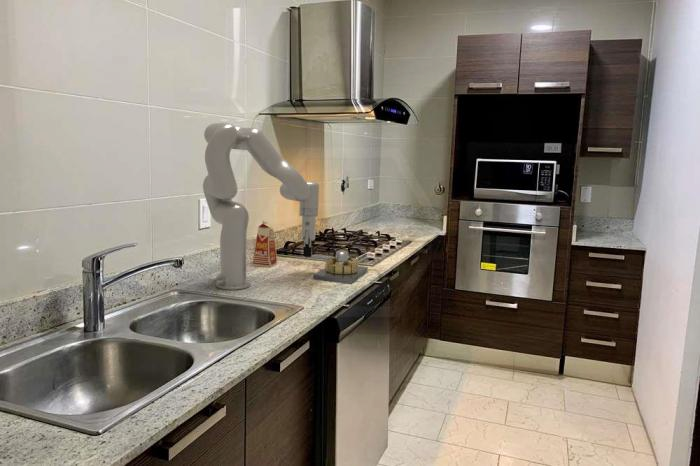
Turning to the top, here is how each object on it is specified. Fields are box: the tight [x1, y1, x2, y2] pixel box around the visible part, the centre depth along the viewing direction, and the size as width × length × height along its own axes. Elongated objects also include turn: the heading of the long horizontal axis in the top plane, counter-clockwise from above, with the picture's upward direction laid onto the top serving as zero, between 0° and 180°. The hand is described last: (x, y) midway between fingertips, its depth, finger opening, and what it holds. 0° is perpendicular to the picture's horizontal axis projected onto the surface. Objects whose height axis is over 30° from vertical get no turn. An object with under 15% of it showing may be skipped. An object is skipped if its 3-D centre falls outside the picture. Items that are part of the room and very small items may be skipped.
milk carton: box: [251, 220, 278, 268], centre depth 228 cm, size 9×9×20 cm
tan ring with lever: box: [304, 243, 359, 274], centre depth 215 cm, size 23×13×10 cm, turn 81°
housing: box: [312, 250, 369, 285], centre depth 215 cm, size 22×16×10 cm
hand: (307, 256), depth 213 cm, fingers closed
